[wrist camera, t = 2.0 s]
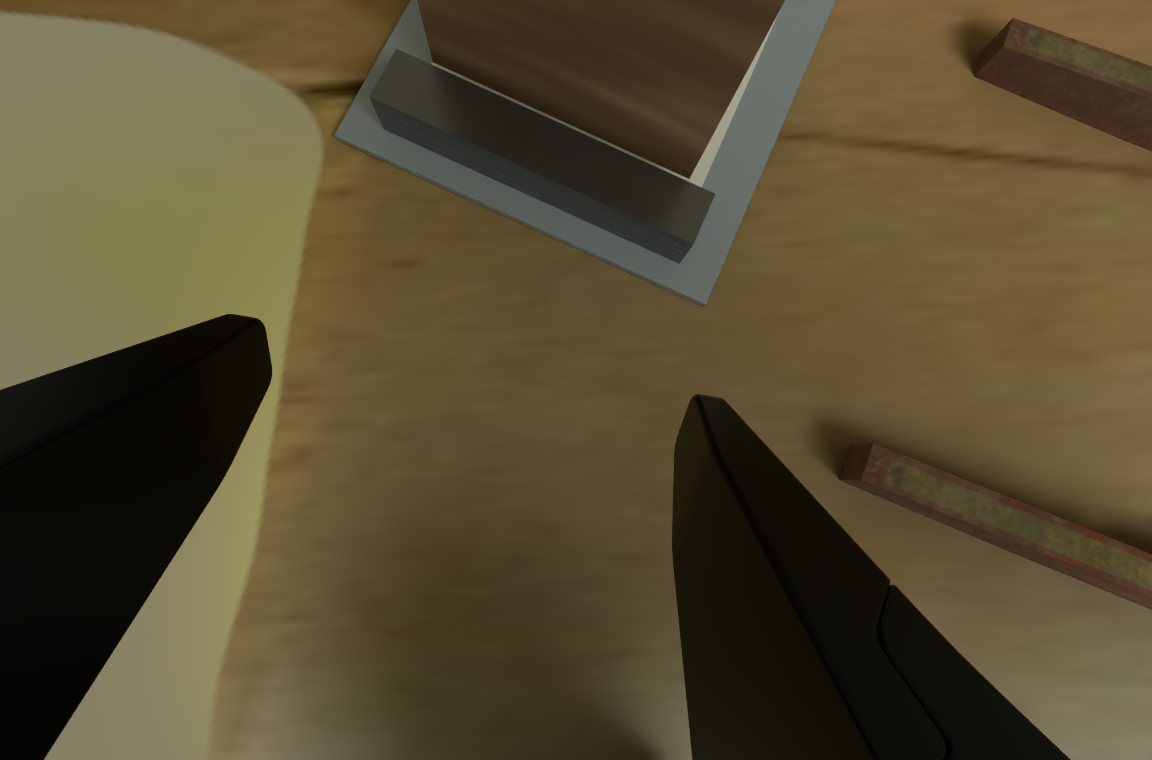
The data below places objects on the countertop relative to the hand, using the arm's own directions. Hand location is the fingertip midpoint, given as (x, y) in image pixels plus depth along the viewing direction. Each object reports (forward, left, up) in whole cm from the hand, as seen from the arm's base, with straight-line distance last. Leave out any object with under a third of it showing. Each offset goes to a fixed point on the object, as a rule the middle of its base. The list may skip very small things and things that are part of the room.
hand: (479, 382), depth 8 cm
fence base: (+10, 0, -13) cm, 16 cm away
